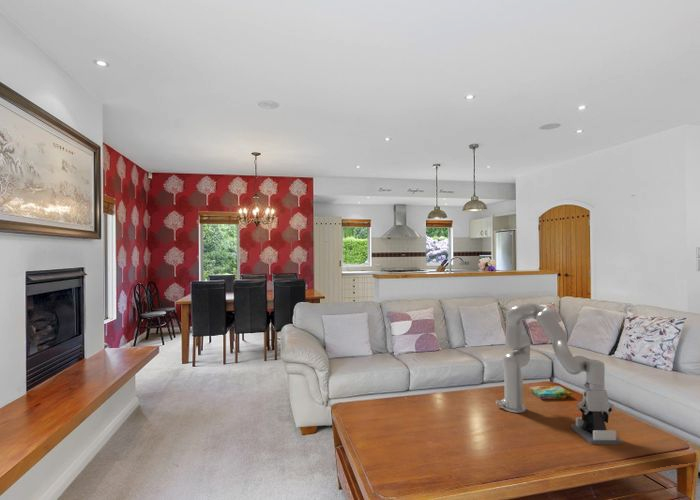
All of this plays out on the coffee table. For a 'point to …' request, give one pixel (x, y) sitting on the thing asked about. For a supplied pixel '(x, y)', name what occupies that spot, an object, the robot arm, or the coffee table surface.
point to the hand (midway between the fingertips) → (595, 421)
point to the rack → (596, 434)
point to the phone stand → (594, 422)
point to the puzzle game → (550, 392)
